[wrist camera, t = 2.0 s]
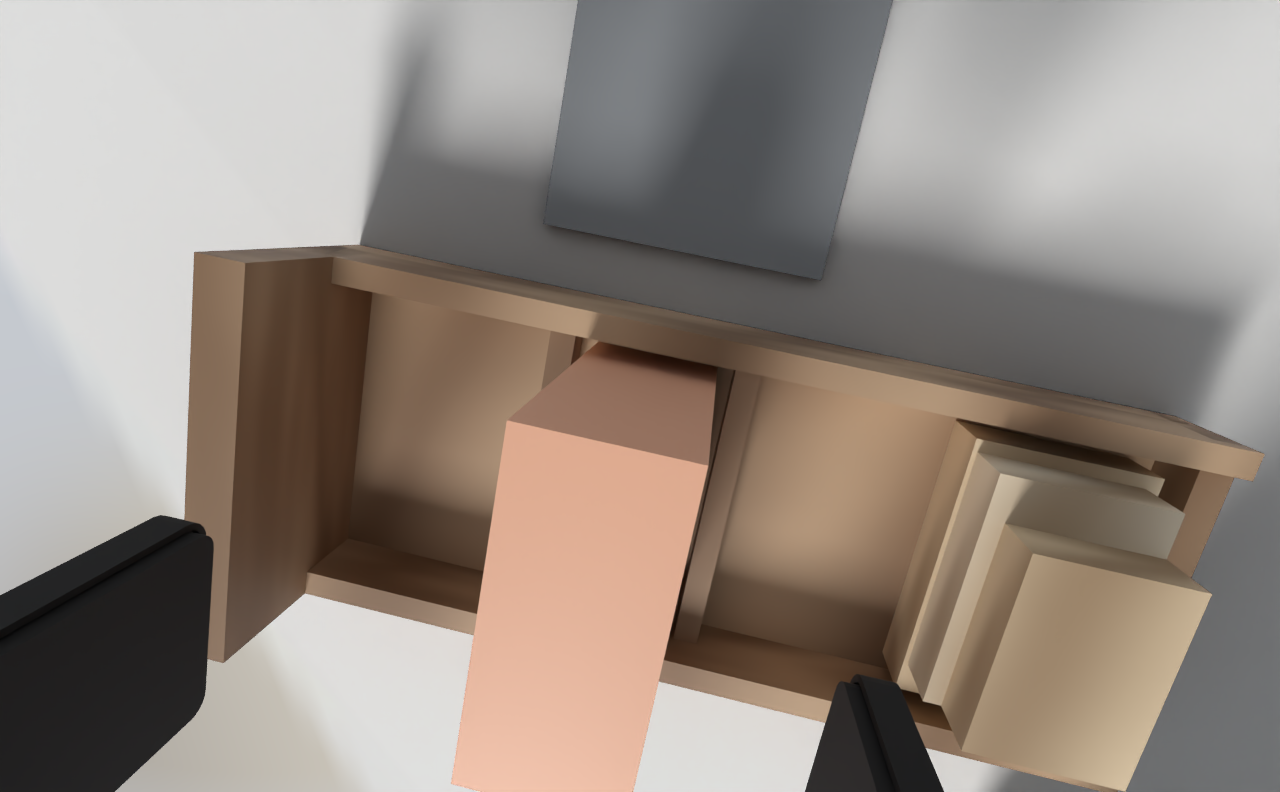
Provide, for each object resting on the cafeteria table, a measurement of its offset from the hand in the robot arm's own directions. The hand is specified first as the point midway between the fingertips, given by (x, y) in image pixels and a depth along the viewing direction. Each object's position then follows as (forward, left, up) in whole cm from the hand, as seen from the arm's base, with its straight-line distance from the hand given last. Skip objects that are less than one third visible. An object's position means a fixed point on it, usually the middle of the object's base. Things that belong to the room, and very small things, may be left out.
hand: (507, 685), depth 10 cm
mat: (-1, -10, -10) cm, 14 cm away
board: (-1, 0, -9) cm, 9 cm away
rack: (-3, 0, -10) cm, 10 cm away
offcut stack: (-10, 0, -9) cm, 13 cm away
